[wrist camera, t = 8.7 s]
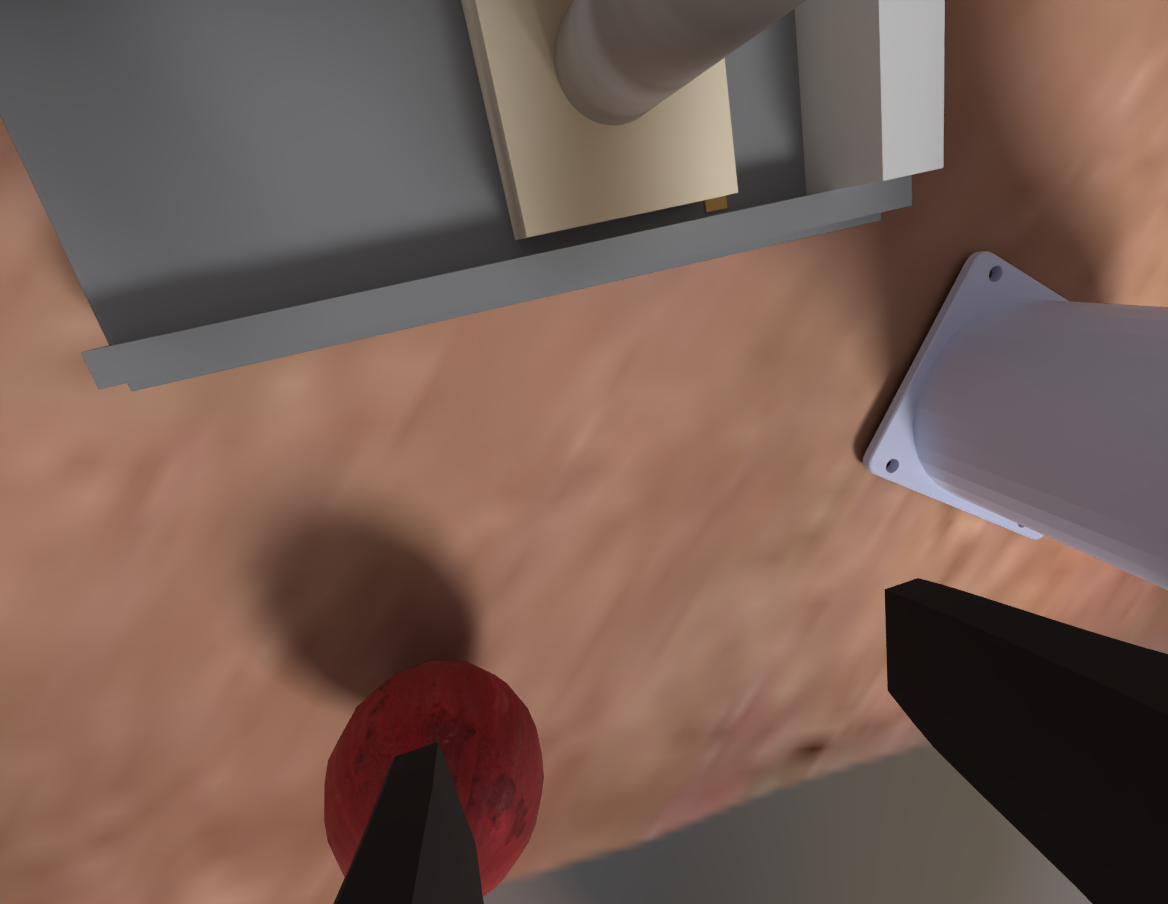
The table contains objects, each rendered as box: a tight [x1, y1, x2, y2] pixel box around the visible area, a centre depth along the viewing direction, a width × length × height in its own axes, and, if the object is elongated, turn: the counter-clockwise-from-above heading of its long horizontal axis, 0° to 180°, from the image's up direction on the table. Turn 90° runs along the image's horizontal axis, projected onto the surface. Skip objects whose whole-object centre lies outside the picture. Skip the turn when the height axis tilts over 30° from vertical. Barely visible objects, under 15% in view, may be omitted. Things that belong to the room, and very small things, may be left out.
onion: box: [324, 660, 544, 896], centre depth 16 cm, size 6×6×8 cm
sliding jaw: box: [461, 0, 806, 240], centre depth 10 cm, size 5×6×8 cm
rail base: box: [0, 0, 945, 392], centre depth 13 cm, size 20×9×4 cm, turn 102°
